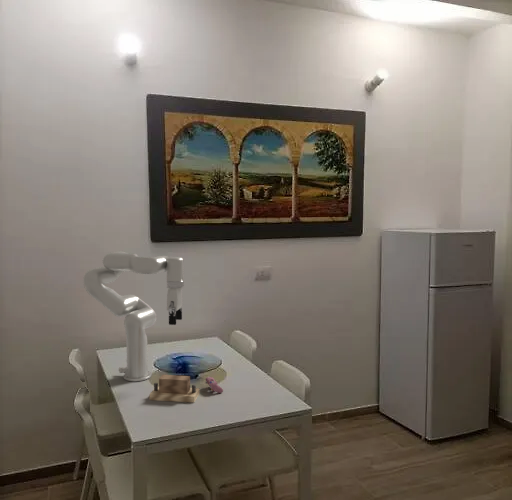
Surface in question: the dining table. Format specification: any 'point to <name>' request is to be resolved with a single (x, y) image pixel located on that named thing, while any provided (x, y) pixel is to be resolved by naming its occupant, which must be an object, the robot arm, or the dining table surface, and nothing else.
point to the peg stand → (174, 395)
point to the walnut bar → (174, 384)
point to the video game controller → (213, 385)
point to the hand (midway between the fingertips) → (175, 322)
